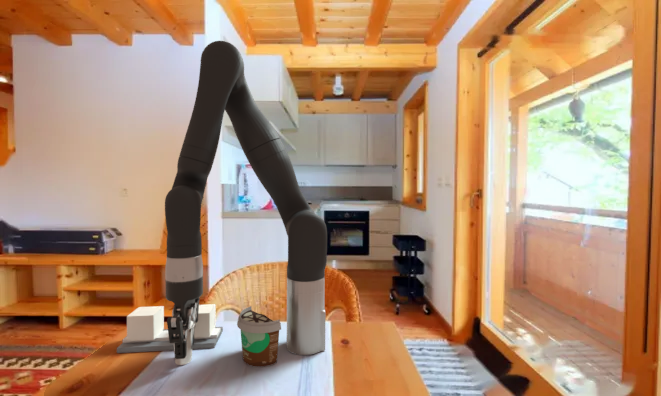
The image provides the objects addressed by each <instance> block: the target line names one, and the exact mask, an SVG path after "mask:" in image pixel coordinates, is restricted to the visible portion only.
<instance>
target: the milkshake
mask: <svg viewBox="0 0 661 396" xmlns="http://www.w3.org/2000/svg"><path fill="white" fill-rule="evenodd" d="M195 320H196V318H195ZM195 320H194V322H193V321H191V323H190V328H189V329H188V330H187V355H186V357H185V358H184V359H176V358H175V357H174V363H175V365H177V366H184V365H188V364H189V363H191V362H192V359H193V358H192V357H193V349H192V347H193V334H194V323H195ZM185 325H186V324H182V326H185ZM177 336H179V335H177ZM173 351H174V352H173V353H174V356H175V343H174V350H173Z"/></svg>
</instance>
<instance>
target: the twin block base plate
mask: <svg viewBox="0 0 661 396" xmlns="http://www.w3.org/2000/svg"><path fill="white" fill-rule="evenodd" d="M216 311H217V310H216V304H215V303H213V304H210V303H209V304H199V311H198V322H197V323H196V327H195V329H194V345H193V347H192V350H199V349H215V347H216V346H217V345H218V342H219V339H220V338H221V336H222V333H223V330H224V328H223V327H224V326H216V323H217V321H216V318H217V317H216V315H217V313H216ZM164 322H165V306H164V305H158V306H154V305H152V306H139V307H137V308H135V309H134V310H133V311H132V312H131V313H129V314H128V315H126V336H125V337H123V339H122V343H120V345H118V346H117V347H116V353H117V354H126V353H128V354H129V353H143V352H147V353H148V352H161V351H162V352H163V351H164V352H165V351H174V343H170V342H169V334H168V328H167V329H165V323H164Z"/></svg>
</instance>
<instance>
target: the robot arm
mask: <svg viewBox="0 0 661 396" xmlns="http://www.w3.org/2000/svg"><path fill="white" fill-rule="evenodd" d="M193 105H194V106H193V108H192V112H191V116H190V120H189V123H188V126H187V130H186V132H185V135H184V136H185V137H184V139H183V141H182V146H181V148H180V149H181V150H180V153H179V156H178V159H177V164H176V165H177V167H176V168H177V169H176V170H177V171H176V175H175V178H174V181H173V182H172V183H173V185H172V187H171V189H170V190H169V191H168V192H167V194H166V196H165V197H164V215H165V224H166V225H165V226H166V231H167V232H166V234H167V236H166V261H165V269H164V270H165V275H164V276H165V299H166V300H167V301H168V302H171V303H173V307H172V311H171V317H170V316H169V317H167V319H166V325H167V329H168V334H169V342H170V343H175V355H174V359H175V358H176V359H184V358H185V357H186V355H187V330H188V329H189V328H190V323H191V321H193V322H194V320H195V318H196V320H195V323H194V329H195V327H196V323H197V322H198V311H199V305H200V297H201V296H202V295H203V293H204V262H203V255H202V249H203V247H202V243H203V242H202V233H201V216H202V215H201V214H202V213H201V212H202V203H203V200H204V199H203V198H204V193H205V190H206V186H207V181H208V177H209V175H210V174H211V170H212V168H213V165H214V162H215V158H216V154H217V150H218V146H219V142H220V136H221V131H222V124H223V120H224V116H225V115H224V114H225V112H226V114H227V116H228V118H229V120H230V122H231V125H232V128H233V130H234V132H235V136H236V138H237V140H238V142H239V145H240V147H241V150H242V151H243V153H244V154H243V155H244V156H245V157H246V159H247V162H248V163H249V165H250V167H251V169H252V171H253V172H254V173H255V175H256V177H257V179H258V180H259V182H260V183H261V185H262V187H263V188H264V189H265V191H266V192H267V193H268V195H269V197H270V198H271V199H272V201H273V202H274V205H275V206H276V209H277V210H278V213H279V216H280V218H281V220H282V225H283V226H284V230H285V232H286V235H287V265H286V349H287V350H288V352H289V353H292V354H295V355H299V356H310V355H313V354H317V353H319V352H323V351H324V352H325V351H326V309H325V279H326V278H325V270H326V266H327V259H328V258H327V257H328V255H327V253H328V228H327V224H326V223H325V220H324V219H323V218H322V217H321V216H320V215H319V214H317V213H315V212H314V210H313V209H312V207H311V205H310V204H309V203H308V200H307V199H306V197H305V196H304V194H303V192H302V190H301V188H300V186H299V182H298V179H297V177H296V172H295V169H294V166H293V163H292V161H291V158H290V155H289V153H288V152H287V149H286V147H285V145H284V143H283V142H282V139H281V138H280V135H279V134H278V132H277V131H276V129H275V127H274V126H273V124H272V123H271V122H270V121H269V119H268V117H266V115H264V113H263V112H262V111H261V109H260V108H259V106H258V105H257V103H256V102H255V100H254V98H253V94H252V93H251V91H250V88H249V86H248V83H247V80H246V77H245V63H244V58H243V56H242V54H241V52H240V51H239V48H237V47H236V46H235V45H234V44H232V43H231V42H228V41H225V40H224V41H223V40H216V41H212V42H210V43H208V44H207V45H206V47H204V48H203V51H202V53H201V56H200V67H199V76H198V85H197V89H196V96H195V101H194V103H193ZM182 324H186V325H185V326H182ZM177 335H179V336H177ZM193 345H194V334H193Z"/></svg>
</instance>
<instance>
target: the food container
mask: <svg viewBox="0 0 661 396" xmlns="http://www.w3.org/2000/svg"><path fill="white" fill-rule="evenodd" d="M236 323H237V324H236V325H237V328H238V329H239V330H240V340H241V350H242V351H241V352H242V361H243V363H244V364H246V365H248V366H250V367H256V368H257V367H258V368H260V367H262V368H263V367H267V366H272V365H274V364H276V363H278V351H279V338H280V330H282V324H281V320H280V319H277V320H272V319H270V317H268V316H267V315H266V314H263V313H258V312H256V311H254V310H252V305H251V306H248V307H246V308H244V309H242V310H241V311H240V313H239V315H238V318H237V322H236Z"/></svg>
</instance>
